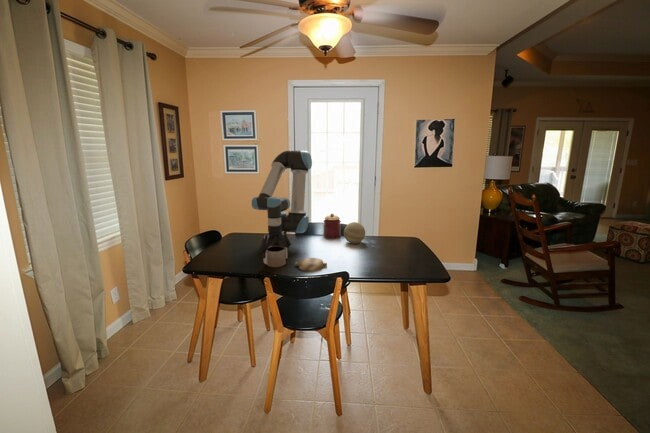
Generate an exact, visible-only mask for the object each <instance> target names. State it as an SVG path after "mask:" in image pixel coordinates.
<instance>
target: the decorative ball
mask: <svg viewBox="0 0 650 433" xmlns="http://www.w3.org/2000/svg"><path fill="white" fill-rule="evenodd" d="M343 236H344V238H345V240H346V241H347V242H348V243H349V244H353V245H355V244H356V245H357V244H360V243H361V242H362V241H363V240H364V239H365V236H366V228H365V227H364V225H362V223H360V222H356V221H355V222H349V223H348V224H347V225H346V226H345V228H344V229H343Z"/></svg>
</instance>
